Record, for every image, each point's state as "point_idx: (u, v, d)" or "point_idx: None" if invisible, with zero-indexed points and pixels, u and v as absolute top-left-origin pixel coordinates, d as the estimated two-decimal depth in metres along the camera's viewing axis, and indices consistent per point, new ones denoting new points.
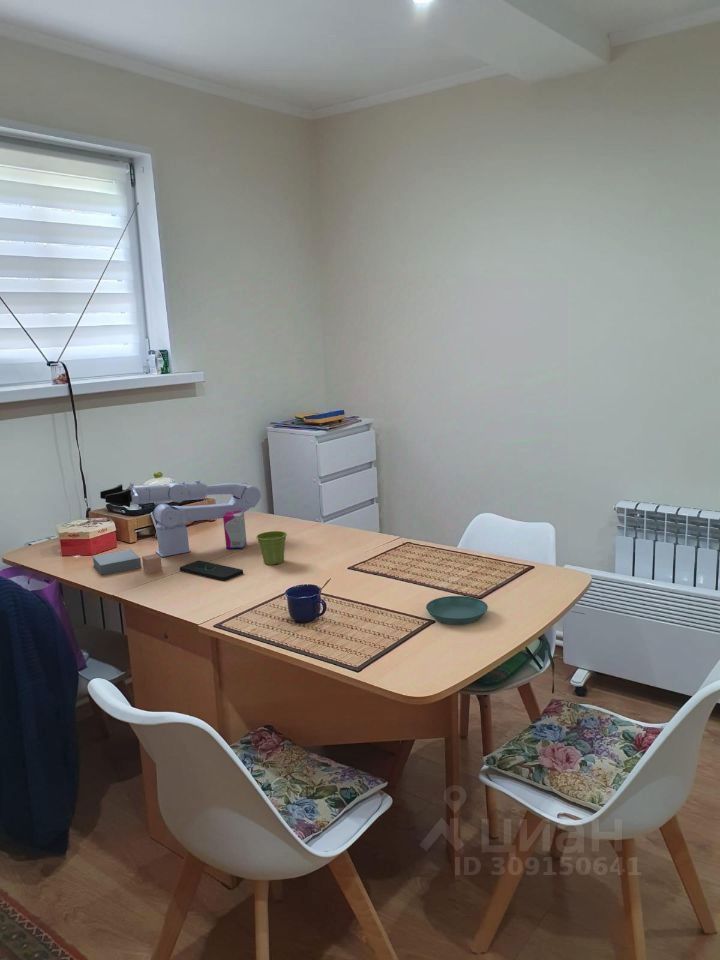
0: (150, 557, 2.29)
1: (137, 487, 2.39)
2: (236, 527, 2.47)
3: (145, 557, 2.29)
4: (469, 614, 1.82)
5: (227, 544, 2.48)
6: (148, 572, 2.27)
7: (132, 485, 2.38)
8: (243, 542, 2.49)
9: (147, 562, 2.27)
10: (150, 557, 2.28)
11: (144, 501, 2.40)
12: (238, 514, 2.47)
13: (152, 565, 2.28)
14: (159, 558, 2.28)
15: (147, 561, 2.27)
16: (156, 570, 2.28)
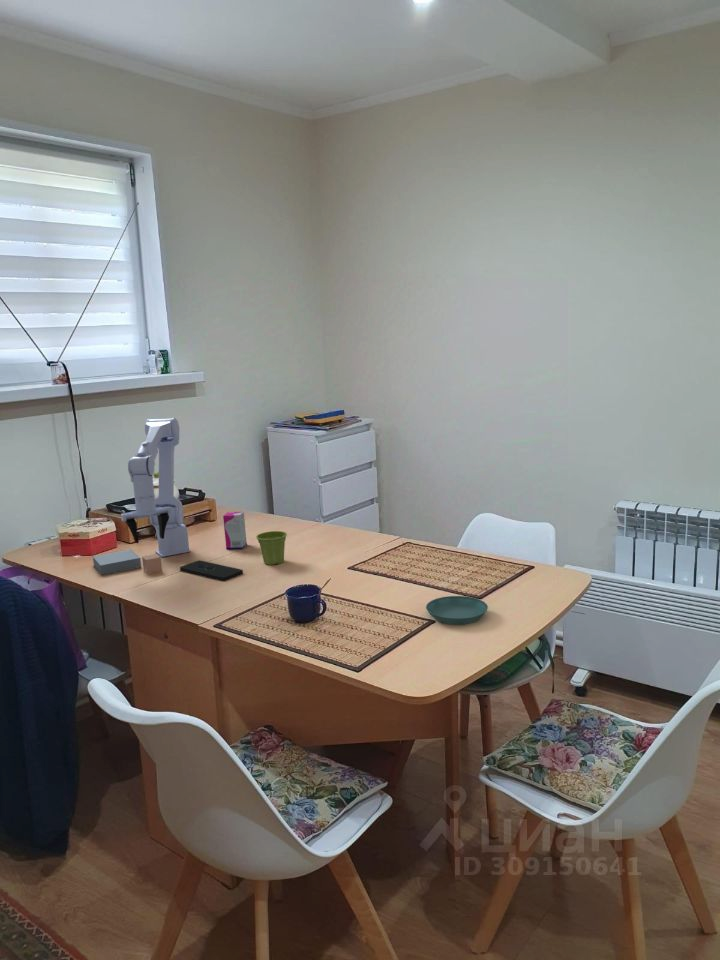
0: (150, 557, 2.29)
1: (151, 507, 2.25)
2: (236, 527, 2.47)
3: (145, 557, 2.29)
4: (469, 614, 1.82)
5: (227, 544, 2.49)
6: (148, 572, 2.27)
7: (152, 513, 2.24)
8: (243, 542, 2.49)
9: (147, 562, 2.27)
10: (150, 557, 2.28)
11: None
12: (238, 514, 2.48)
13: (152, 565, 2.28)
14: (159, 558, 2.28)
15: (147, 561, 2.27)
16: (156, 570, 2.28)
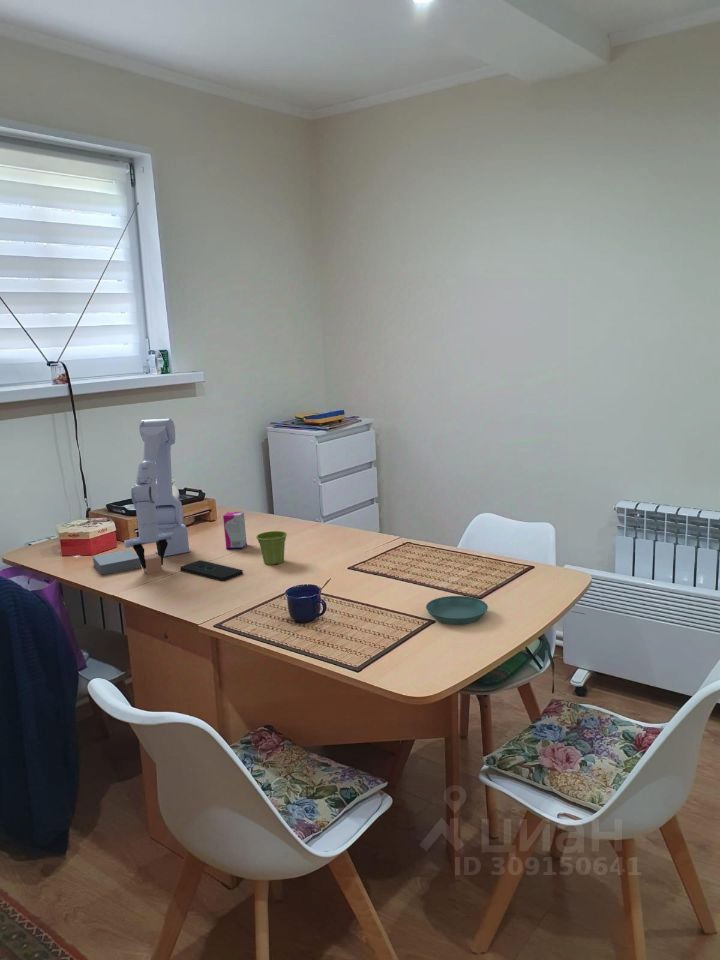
0: (150, 557, 2.29)
1: (154, 534, 2.26)
2: (236, 527, 2.47)
3: (145, 557, 2.29)
4: (469, 614, 1.82)
5: (227, 544, 2.49)
6: (148, 572, 2.27)
7: (155, 539, 2.26)
8: (243, 542, 2.49)
9: (147, 562, 2.27)
10: (150, 557, 2.28)
11: None
12: (238, 514, 2.48)
13: (152, 565, 2.28)
14: (159, 558, 2.28)
15: (147, 561, 2.27)
16: (156, 570, 2.28)
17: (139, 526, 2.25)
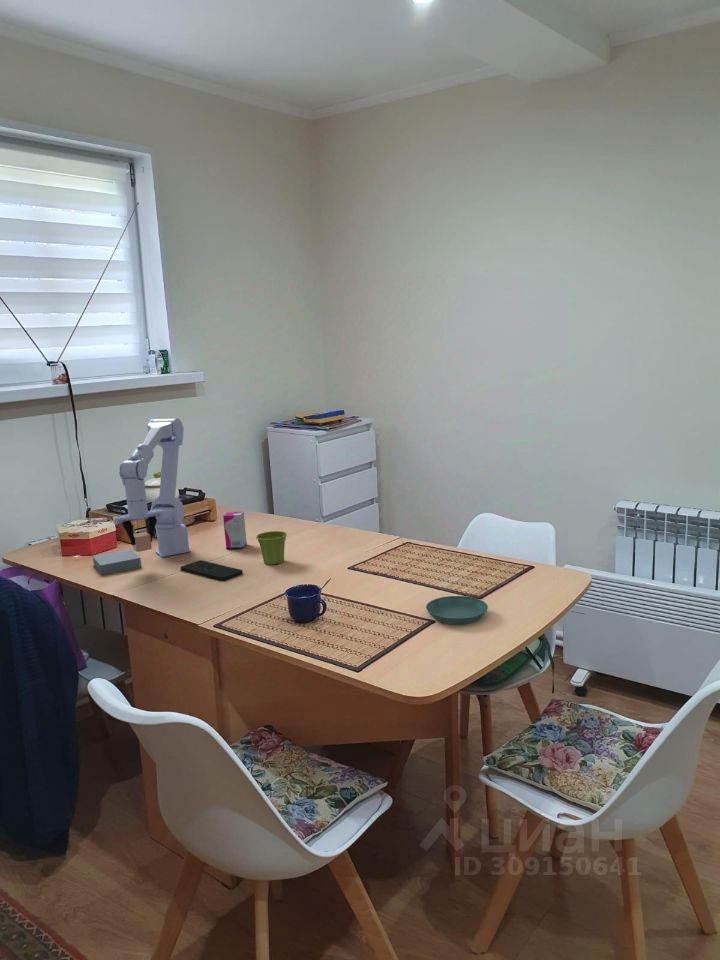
0: (140, 535, 2.29)
1: (143, 511, 2.27)
2: (236, 527, 2.47)
3: (134, 535, 2.29)
4: (469, 614, 1.82)
5: (227, 544, 2.49)
6: (138, 550, 2.27)
7: (144, 516, 2.26)
8: (243, 542, 2.49)
9: (136, 540, 2.27)
10: (139, 535, 2.28)
11: None
12: (238, 514, 2.48)
13: (142, 543, 2.28)
14: (148, 536, 2.29)
15: (136, 539, 2.27)
16: (146, 548, 2.29)
17: (128, 503, 2.26)
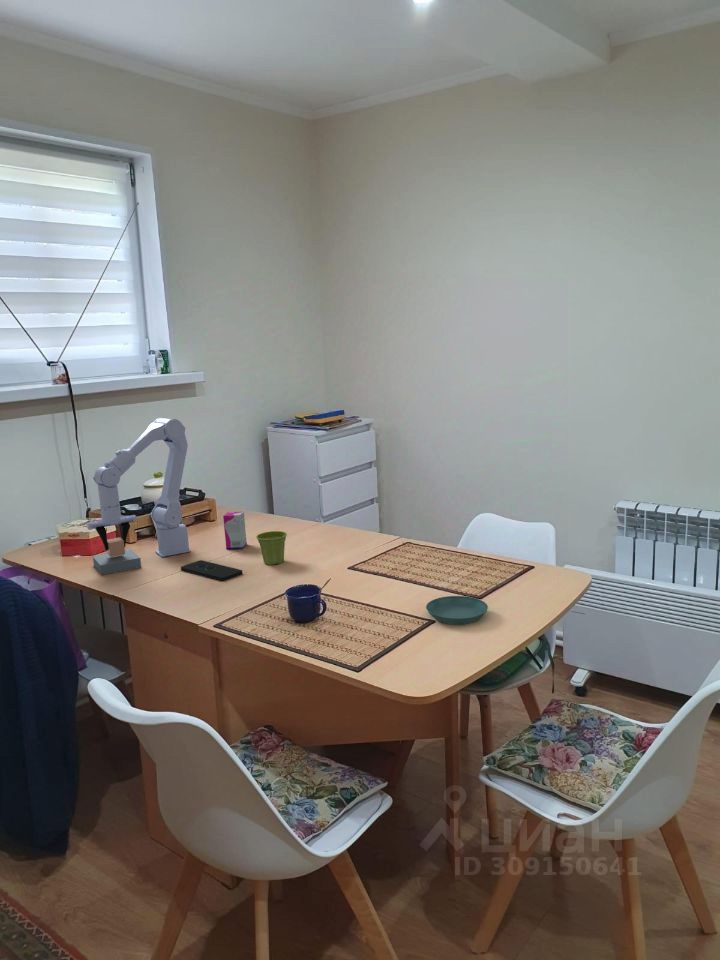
0: (114, 540, 2.34)
1: (116, 516, 2.32)
2: (236, 527, 2.47)
3: (108, 540, 2.34)
4: (469, 614, 1.82)
5: (227, 544, 2.49)
6: (111, 555, 2.33)
7: (117, 522, 2.31)
8: (243, 542, 2.49)
9: (110, 545, 2.32)
10: (113, 541, 2.34)
11: None
12: (238, 514, 2.48)
13: (115, 548, 2.33)
14: (122, 541, 2.34)
15: (110, 544, 2.32)
16: (119, 553, 2.34)
17: (101, 509, 2.31)
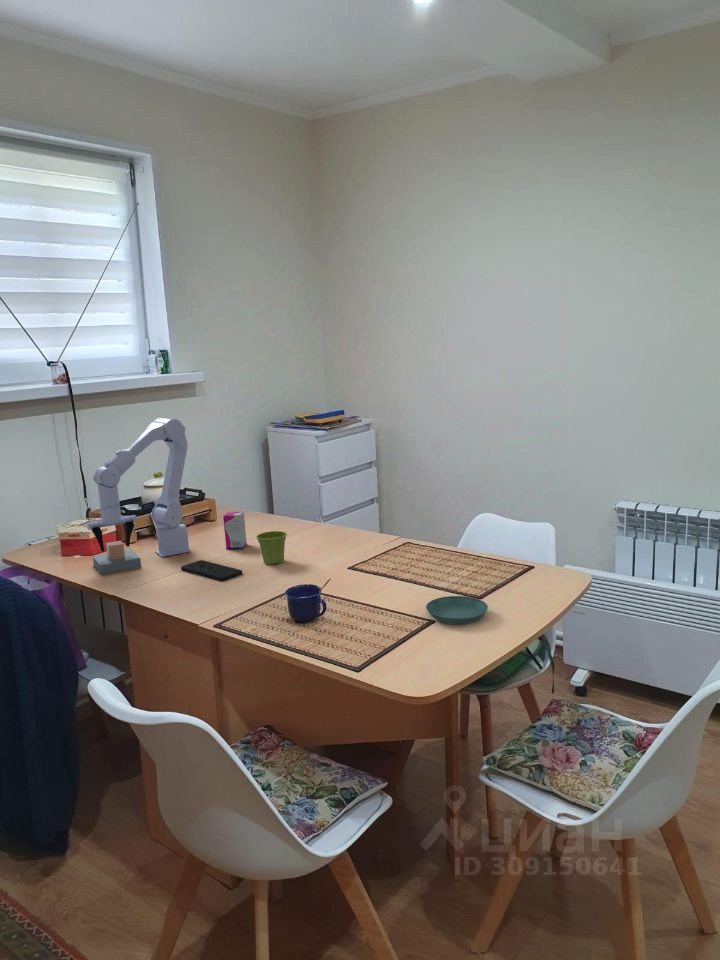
0: (114, 544, 2.34)
1: (116, 516, 2.32)
2: (236, 527, 2.47)
3: (108, 544, 2.35)
4: (469, 614, 1.82)
5: (227, 544, 2.49)
6: (111, 558, 2.33)
7: (117, 521, 2.31)
8: (243, 542, 2.49)
9: (110, 548, 2.32)
10: (113, 544, 2.34)
11: None
12: (238, 514, 2.48)
13: (115, 551, 2.33)
14: (122, 545, 2.34)
15: (110, 547, 2.32)
16: (119, 556, 2.34)
17: (101, 509, 2.31)
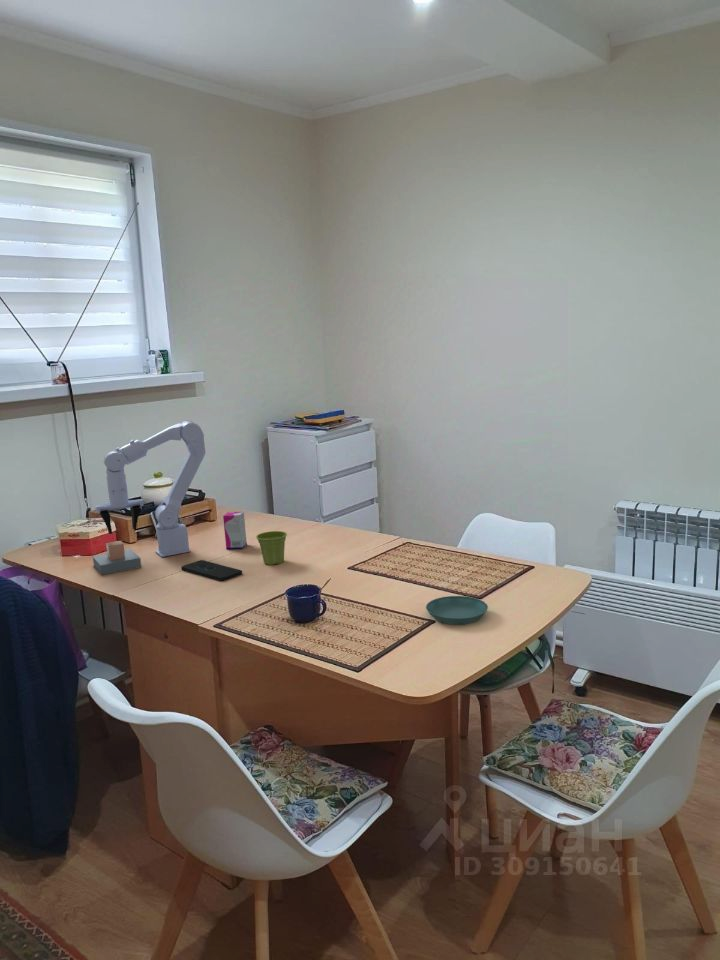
0: (114, 544, 2.34)
1: (124, 500, 2.38)
2: (236, 527, 2.47)
3: (108, 544, 2.35)
4: (469, 614, 1.82)
5: (227, 544, 2.49)
6: (111, 558, 2.33)
7: (125, 505, 2.38)
8: (243, 542, 2.49)
9: (110, 548, 2.32)
10: (113, 544, 2.34)
11: None
12: (238, 514, 2.48)
13: (115, 551, 2.33)
14: (122, 545, 2.34)
15: (110, 547, 2.32)
16: (119, 556, 2.34)
17: (109, 492, 2.37)
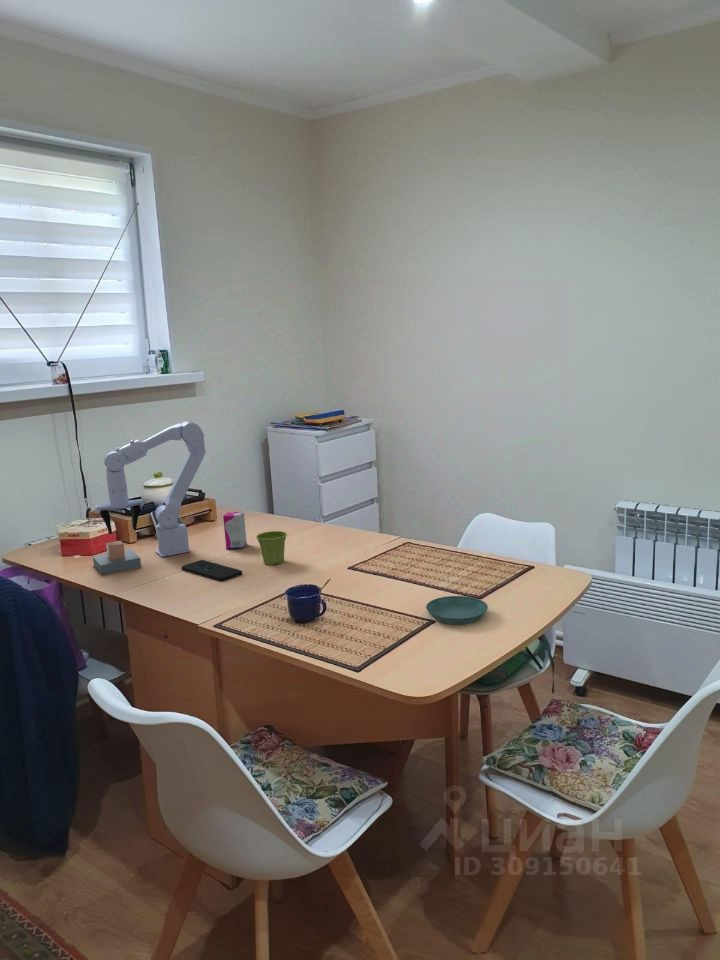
0: (114, 544, 2.34)
1: (124, 500, 2.38)
2: (236, 527, 2.47)
3: (108, 544, 2.35)
4: (469, 614, 1.82)
5: (227, 544, 2.49)
6: (111, 558, 2.33)
7: (125, 505, 2.38)
8: (243, 542, 2.49)
9: (110, 548, 2.32)
10: (113, 544, 2.34)
11: None
12: (238, 514, 2.48)
13: (115, 551, 2.33)
14: (122, 545, 2.34)
15: (110, 547, 2.32)
16: (119, 556, 2.34)
17: (109, 492, 2.37)
